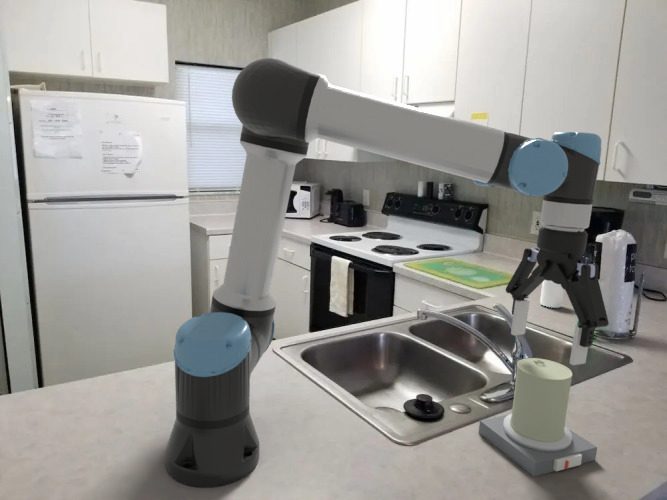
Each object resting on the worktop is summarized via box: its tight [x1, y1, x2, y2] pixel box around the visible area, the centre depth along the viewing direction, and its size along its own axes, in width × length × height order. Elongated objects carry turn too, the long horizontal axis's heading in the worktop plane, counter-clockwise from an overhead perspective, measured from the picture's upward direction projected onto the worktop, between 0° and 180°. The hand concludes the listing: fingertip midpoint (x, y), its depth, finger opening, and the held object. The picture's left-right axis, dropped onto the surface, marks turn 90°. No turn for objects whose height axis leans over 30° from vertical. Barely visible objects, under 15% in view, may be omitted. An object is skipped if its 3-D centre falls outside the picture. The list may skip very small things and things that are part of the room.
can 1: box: [539, 280, 565, 309], centre depth 180 cm, size 7×7×12 cm
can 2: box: [510, 357, 573, 442], centre depth 91 cm, size 9×9×12 cm
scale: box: [478, 413, 598, 477], centre depth 92 cm, size 14×15×4 cm
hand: (545, 348), depth 89 cm, fingers open, 13 cm apart
